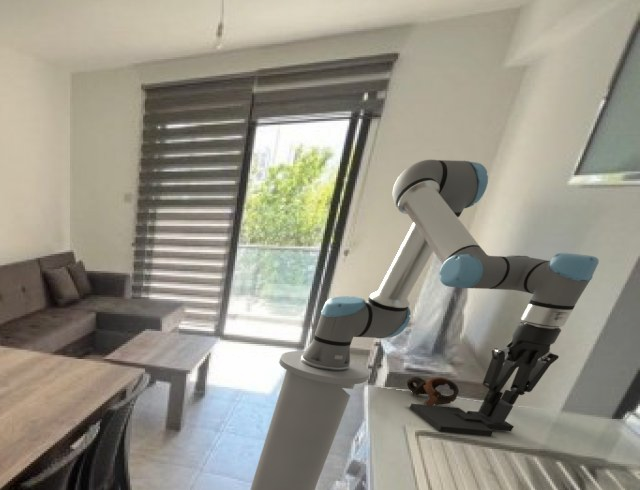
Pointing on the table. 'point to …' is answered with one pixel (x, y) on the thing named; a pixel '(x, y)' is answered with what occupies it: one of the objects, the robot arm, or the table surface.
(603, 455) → the table surface
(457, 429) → the large pad
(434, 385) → the brown double ring
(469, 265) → the robot arm
